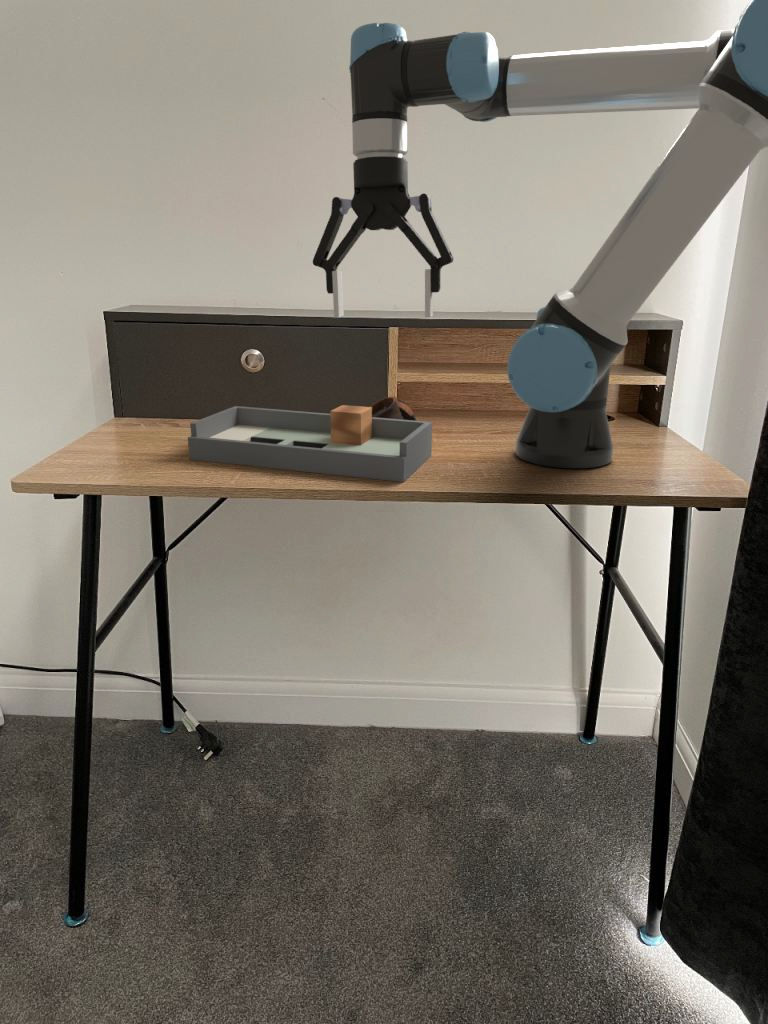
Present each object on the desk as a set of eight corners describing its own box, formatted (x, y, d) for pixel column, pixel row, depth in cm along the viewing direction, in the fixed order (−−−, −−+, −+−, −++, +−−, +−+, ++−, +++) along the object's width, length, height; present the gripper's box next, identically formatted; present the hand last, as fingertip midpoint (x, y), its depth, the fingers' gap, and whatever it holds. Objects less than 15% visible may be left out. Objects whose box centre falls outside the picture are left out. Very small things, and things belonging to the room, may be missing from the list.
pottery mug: (420, 449, 125) (397, 408, 121) (373, 468, 128) (349, 429, 125) (430, 416, 134) (409, 378, 131) (386, 435, 138) (364, 398, 135)
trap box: (431, 455, 118) (432, 422, 117) (403, 482, 105) (404, 444, 103) (237, 437, 129) (235, 406, 127) (189, 459, 115) (186, 424, 114)
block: (371, 438, 119) (371, 407, 117) (361, 445, 114) (360, 413, 113) (342, 435, 120) (342, 405, 119) (331, 442, 116) (330, 411, 114)
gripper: (473, 156, 103) (470, 314, 110) (302, 165, 108) (310, 314, 115) (467, 149, 96) (465, 318, 103) (285, 159, 101) (294, 318, 108)
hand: (383, 316), depth 109 cm, fingers open, 13 cm apart
